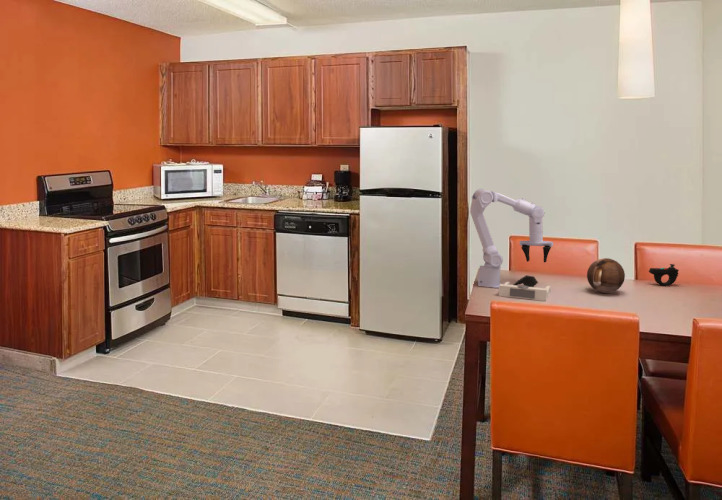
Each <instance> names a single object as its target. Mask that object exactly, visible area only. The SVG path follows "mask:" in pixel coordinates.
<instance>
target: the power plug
mask: <svg viewBox="0 0 722 500" xmlns="http://www.w3.org/2000/svg"><path fill="white" fill-rule="evenodd" d="M537 284H538V280H537V278H536V277H535V276H533V275H524V276H523V277H520V279H518V280H517V281H515V282H514V283H513V284H512V285H515V286H518V285H526V286H528V287H535V286H536V285H537Z"/></svg>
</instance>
